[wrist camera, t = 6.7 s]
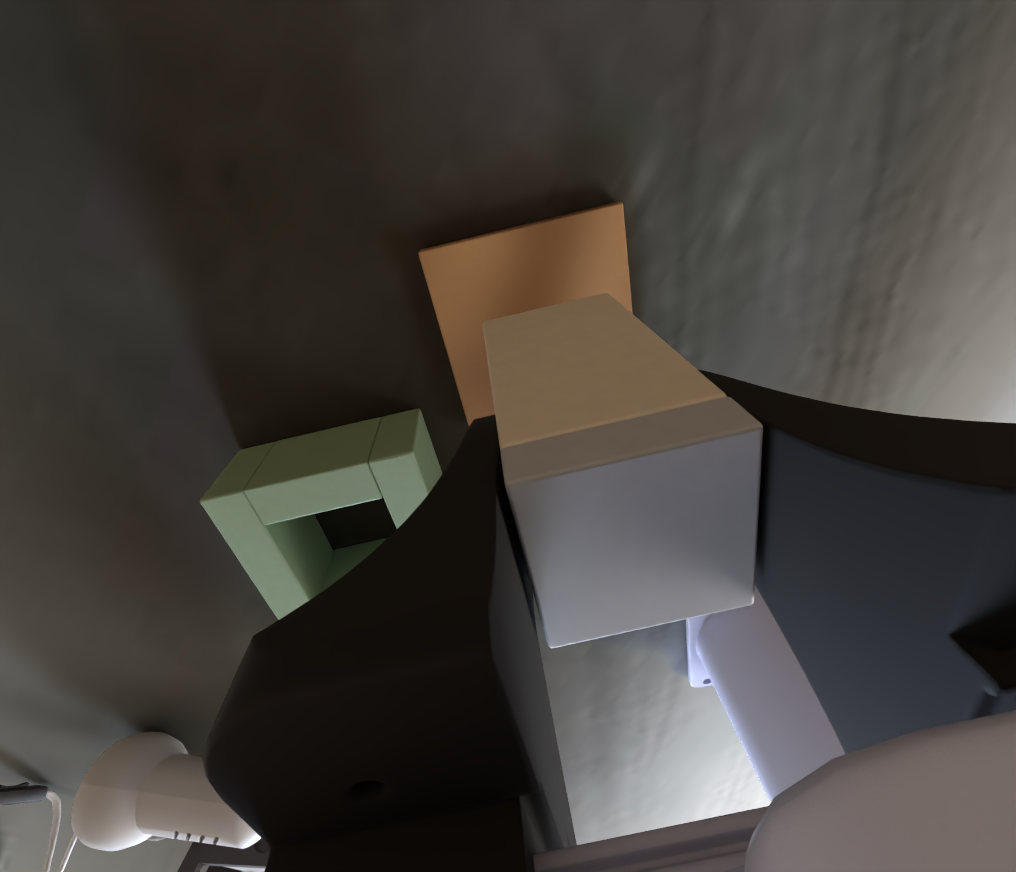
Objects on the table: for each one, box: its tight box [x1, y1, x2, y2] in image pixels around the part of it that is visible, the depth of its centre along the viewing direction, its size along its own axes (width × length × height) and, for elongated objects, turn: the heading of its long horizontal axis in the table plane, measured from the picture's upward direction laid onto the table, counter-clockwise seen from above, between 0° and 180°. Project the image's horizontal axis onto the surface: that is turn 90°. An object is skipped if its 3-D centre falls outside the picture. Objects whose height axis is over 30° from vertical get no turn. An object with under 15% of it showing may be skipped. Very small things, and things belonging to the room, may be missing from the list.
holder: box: [200, 408, 442, 620], centre depth 21 cm, size 8×14×4 cm, turn 12°
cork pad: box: [418, 202, 633, 426], centre depth 18 cm, size 7×7×1 cm
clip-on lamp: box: [0, 732, 271, 872], centre depth 27 cm, size 12×6×18 cm
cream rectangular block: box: [483, 293, 763, 648], centre depth 11 cm, size 4×4×8 cm
